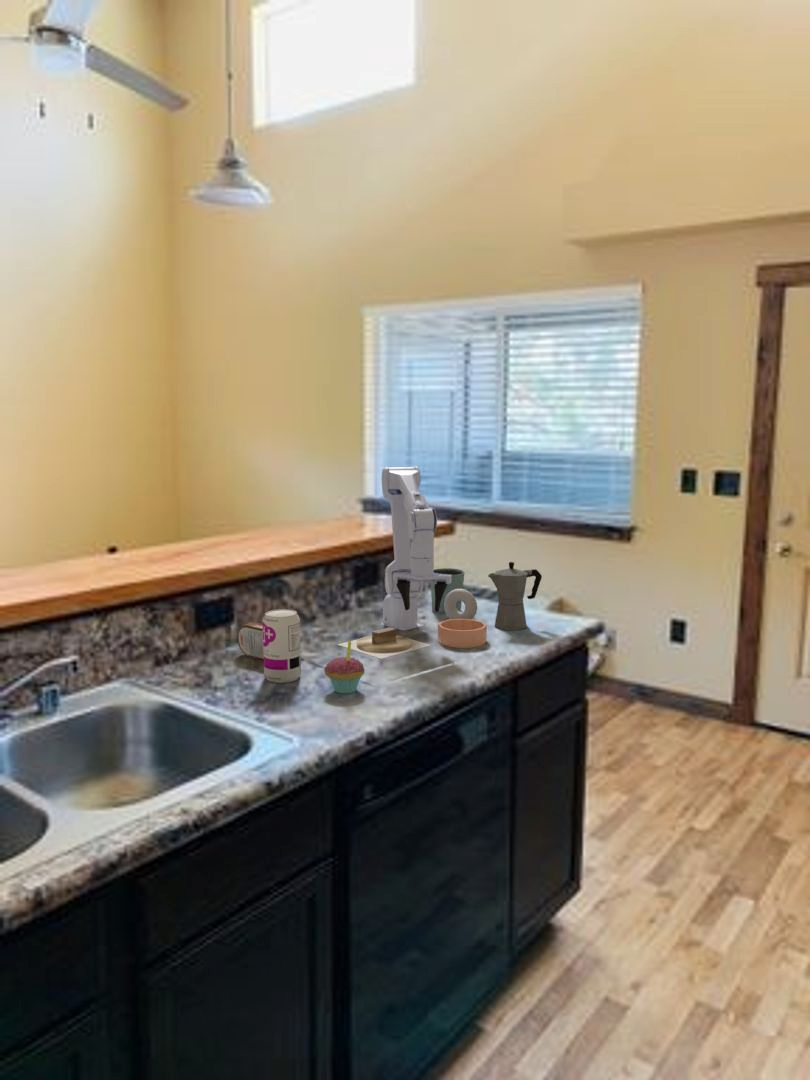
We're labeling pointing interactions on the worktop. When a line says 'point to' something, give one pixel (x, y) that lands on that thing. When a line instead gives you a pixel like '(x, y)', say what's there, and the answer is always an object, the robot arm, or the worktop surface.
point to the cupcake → (344, 672)
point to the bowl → (462, 633)
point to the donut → (466, 599)
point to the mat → (414, 646)
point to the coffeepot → (512, 596)
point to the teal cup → (448, 587)
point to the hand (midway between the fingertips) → (422, 610)
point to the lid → (384, 641)
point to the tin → (251, 639)
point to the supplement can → (281, 646)
